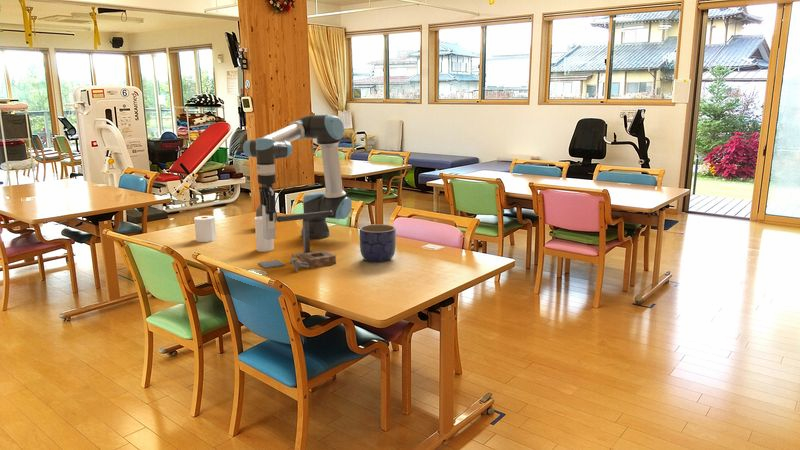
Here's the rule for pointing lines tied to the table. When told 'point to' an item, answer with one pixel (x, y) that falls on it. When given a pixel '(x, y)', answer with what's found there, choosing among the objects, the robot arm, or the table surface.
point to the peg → (267, 232)
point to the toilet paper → (205, 228)
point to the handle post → (305, 238)
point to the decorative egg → (259, 212)
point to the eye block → (318, 258)
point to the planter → (377, 242)
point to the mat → (271, 264)
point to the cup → (262, 237)
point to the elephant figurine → (298, 263)
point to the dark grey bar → (304, 216)
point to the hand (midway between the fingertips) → (269, 227)
